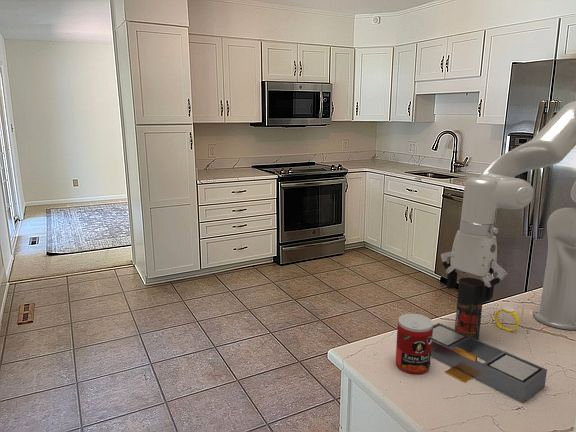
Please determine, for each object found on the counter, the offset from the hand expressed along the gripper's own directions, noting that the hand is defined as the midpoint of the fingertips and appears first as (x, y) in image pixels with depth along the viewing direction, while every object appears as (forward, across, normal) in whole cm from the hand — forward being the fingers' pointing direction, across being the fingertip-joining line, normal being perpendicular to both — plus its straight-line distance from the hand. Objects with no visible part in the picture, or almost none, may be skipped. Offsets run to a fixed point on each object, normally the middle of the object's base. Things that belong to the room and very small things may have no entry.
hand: (468, 293), depth 111 cm
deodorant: (+12, 0, -1) cm, 12 cm away
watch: (+12, -4, -13) cm, 18 cm away
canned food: (+13, -1, +21) cm, 25 cm away
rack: (+12, -9, +12) cm, 19 cm away
